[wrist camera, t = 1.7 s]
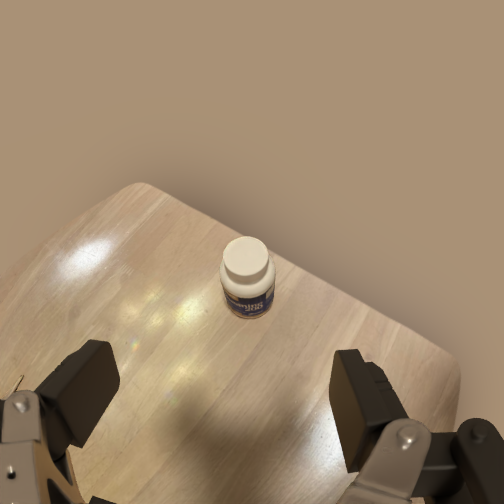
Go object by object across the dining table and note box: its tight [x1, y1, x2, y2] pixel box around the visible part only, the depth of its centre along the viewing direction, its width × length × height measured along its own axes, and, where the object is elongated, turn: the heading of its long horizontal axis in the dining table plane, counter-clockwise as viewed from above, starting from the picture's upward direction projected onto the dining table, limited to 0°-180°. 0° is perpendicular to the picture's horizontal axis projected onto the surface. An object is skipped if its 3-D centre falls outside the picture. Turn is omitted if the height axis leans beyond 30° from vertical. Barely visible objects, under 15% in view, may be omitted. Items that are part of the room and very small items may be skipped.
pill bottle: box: [219, 236, 276, 318], centre depth 30 cm, size 5×5×10 cm
